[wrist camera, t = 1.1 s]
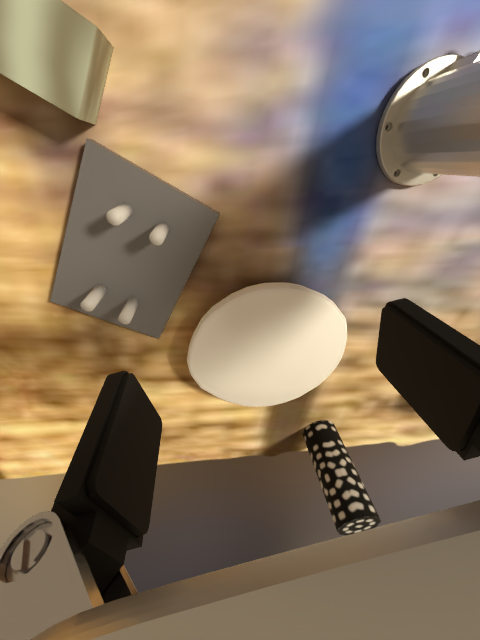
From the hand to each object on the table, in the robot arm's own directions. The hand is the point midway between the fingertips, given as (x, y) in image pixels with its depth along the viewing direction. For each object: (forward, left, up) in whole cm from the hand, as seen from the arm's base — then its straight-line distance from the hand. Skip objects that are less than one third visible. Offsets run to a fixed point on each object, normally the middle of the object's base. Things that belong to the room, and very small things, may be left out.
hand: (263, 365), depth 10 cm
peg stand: (+11, -8, -30) cm, 33 cm away
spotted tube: (+34, +46, -30) cm, 64 cm away
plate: (+16, +18, -30) cm, 38 cm away
